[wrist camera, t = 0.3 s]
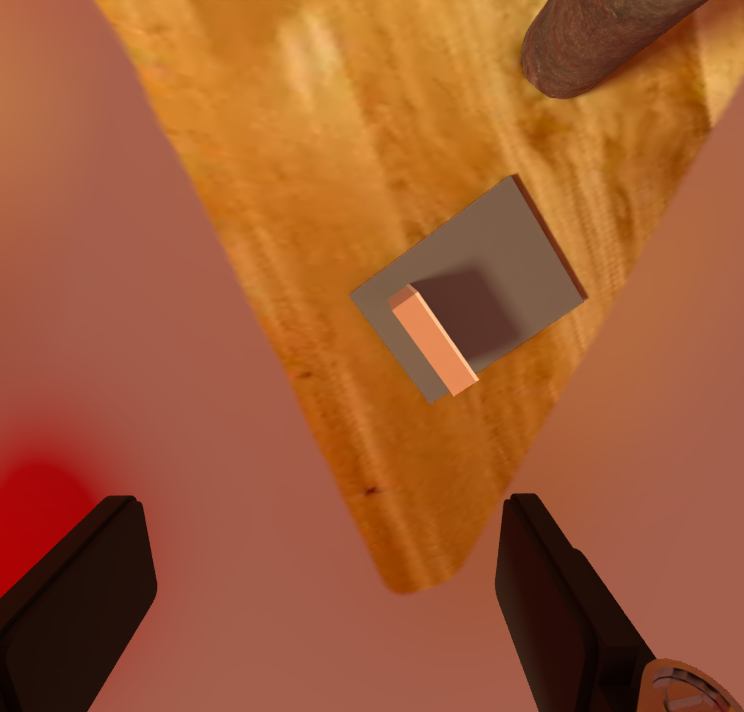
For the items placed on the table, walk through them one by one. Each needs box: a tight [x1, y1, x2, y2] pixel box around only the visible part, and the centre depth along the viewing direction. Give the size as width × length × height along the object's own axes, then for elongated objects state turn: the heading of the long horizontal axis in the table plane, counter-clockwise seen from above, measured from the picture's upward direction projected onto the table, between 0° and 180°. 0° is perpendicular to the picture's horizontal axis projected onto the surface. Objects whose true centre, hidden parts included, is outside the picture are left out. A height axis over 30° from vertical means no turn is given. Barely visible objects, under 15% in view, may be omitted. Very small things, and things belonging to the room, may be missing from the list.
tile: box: [388, 284, 479, 396], centre depth 35 cm, size 2×9×7 cm, turn 36°
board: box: [349, 175, 584, 404], centre depth 38 cm, size 18×14×1 cm
